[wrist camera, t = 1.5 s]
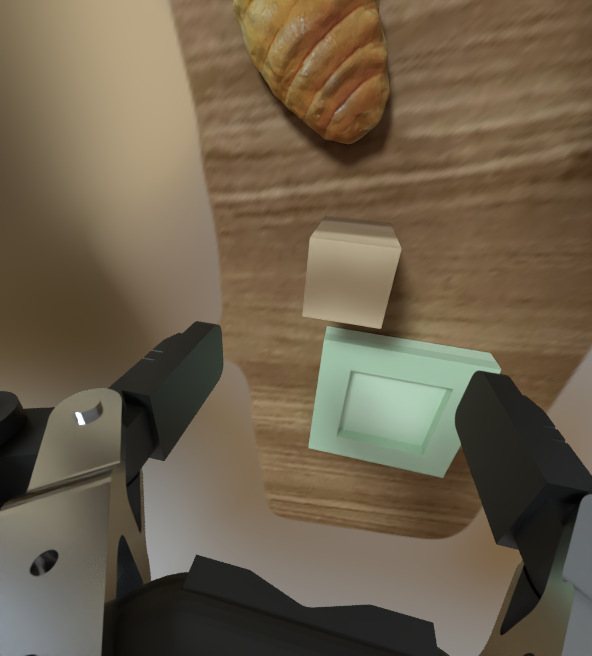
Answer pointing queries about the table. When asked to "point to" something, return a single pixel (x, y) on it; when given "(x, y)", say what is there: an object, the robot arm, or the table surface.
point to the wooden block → (350, 271)
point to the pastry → (321, 60)
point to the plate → (392, 399)
